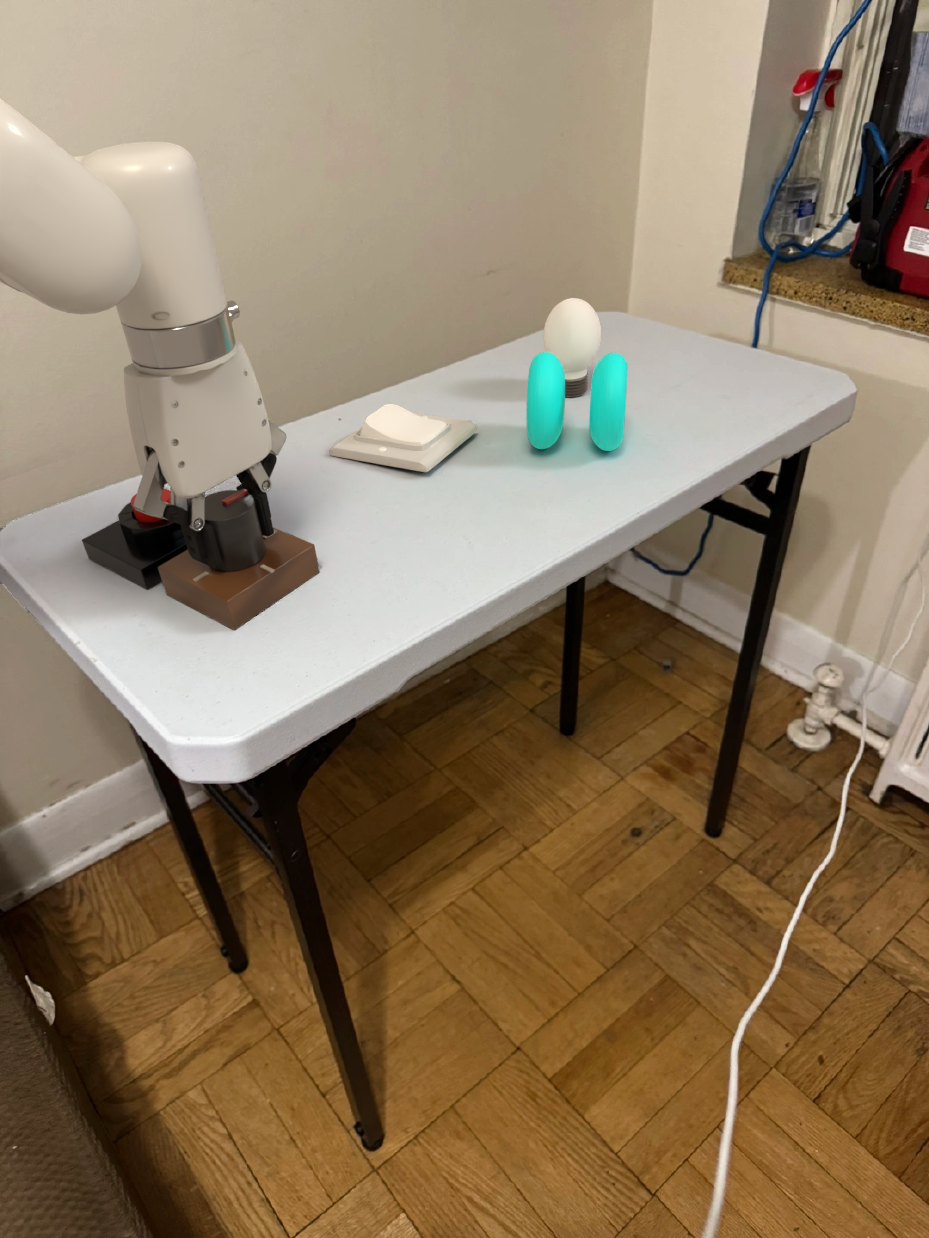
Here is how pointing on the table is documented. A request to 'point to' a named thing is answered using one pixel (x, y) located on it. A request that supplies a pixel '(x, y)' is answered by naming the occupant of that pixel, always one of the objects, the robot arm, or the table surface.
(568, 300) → the light bulb
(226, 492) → the dimmer knob
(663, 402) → the table surface
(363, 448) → the light switch
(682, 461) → the table surface
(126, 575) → the switch block
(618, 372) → the donuts
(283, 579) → the dimmer panel
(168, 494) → the power button
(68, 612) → the table surface
